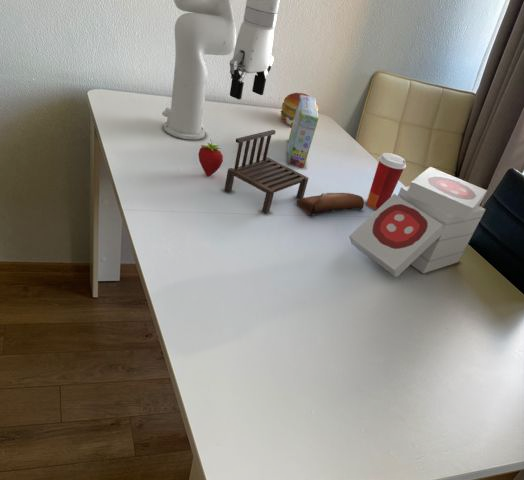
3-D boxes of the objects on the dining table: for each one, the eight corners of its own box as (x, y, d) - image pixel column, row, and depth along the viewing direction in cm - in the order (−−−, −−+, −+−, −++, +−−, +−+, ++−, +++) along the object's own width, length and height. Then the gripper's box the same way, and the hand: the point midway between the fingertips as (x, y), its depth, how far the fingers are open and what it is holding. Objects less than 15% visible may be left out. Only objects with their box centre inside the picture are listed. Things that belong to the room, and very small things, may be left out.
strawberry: (206, 183, 139) (212, 146, 133) (190, 171, 143) (195, 133, 137) (224, 181, 143) (231, 144, 136) (208, 169, 147) (214, 132, 140)
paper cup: (390, 205, 155) (409, 158, 146) (386, 215, 149) (405, 167, 140) (365, 196, 156) (382, 149, 147) (360, 205, 150) (377, 157, 141)
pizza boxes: (338, 246, 129) (363, 175, 117) (414, 228, 146) (442, 165, 134) (396, 290, 119) (429, 217, 107) (470, 265, 136) (505, 200, 125)
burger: (291, 114, 200) (298, 86, 193) (321, 128, 195) (329, 99, 189) (271, 119, 190) (277, 89, 184) (302, 133, 186) (310, 103, 179)
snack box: (305, 168, 162) (319, 118, 152) (287, 164, 161) (300, 113, 152) (303, 144, 178) (316, 96, 168) (287, 140, 177) (298, 92, 168)
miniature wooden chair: (224, 190, 138) (233, 138, 130) (263, 177, 150) (273, 128, 141) (266, 214, 134) (278, 161, 125) (302, 198, 145) (316, 149, 136)
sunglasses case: (343, 195, 151) (357, 181, 146) (353, 217, 150) (367, 204, 145) (293, 200, 142) (306, 186, 136) (303, 224, 141) (317, 210, 135)
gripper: (267, 13, 131) (254, 87, 142) (225, 13, 119) (213, 94, 130) (292, 22, 129) (277, 96, 140) (252, 23, 117) (238, 104, 127)
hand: (246, 95), depth 135 cm, fingers open, 9 cm apart
